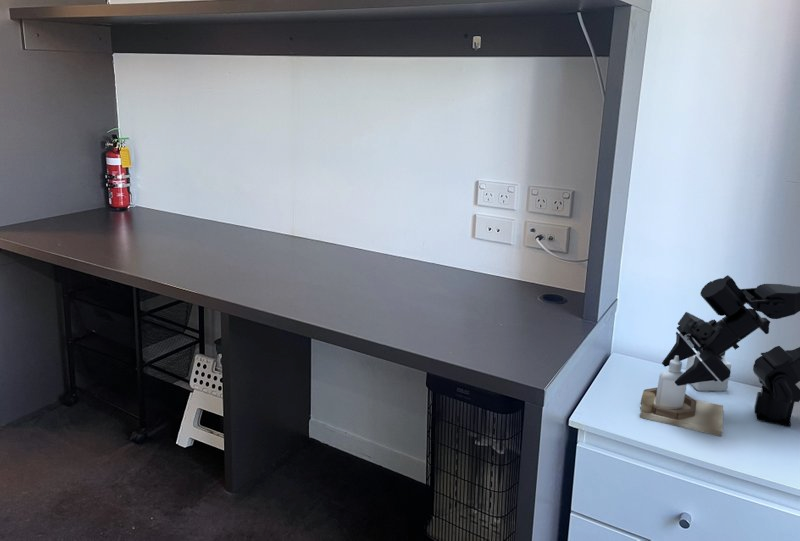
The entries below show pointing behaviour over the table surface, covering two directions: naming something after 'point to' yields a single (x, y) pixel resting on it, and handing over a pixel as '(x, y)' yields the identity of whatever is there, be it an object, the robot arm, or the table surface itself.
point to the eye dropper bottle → (671, 387)
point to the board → (699, 421)
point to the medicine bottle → (709, 384)
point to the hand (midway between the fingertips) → (669, 374)
